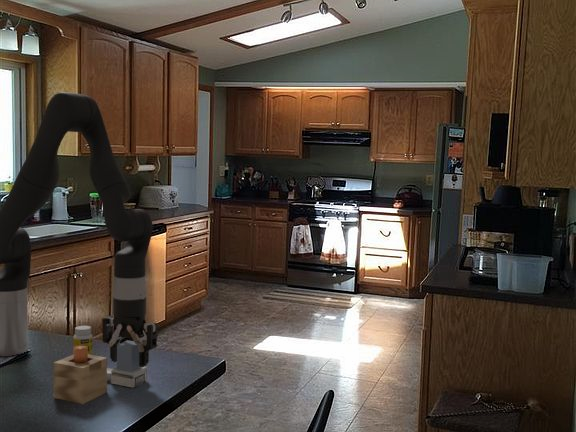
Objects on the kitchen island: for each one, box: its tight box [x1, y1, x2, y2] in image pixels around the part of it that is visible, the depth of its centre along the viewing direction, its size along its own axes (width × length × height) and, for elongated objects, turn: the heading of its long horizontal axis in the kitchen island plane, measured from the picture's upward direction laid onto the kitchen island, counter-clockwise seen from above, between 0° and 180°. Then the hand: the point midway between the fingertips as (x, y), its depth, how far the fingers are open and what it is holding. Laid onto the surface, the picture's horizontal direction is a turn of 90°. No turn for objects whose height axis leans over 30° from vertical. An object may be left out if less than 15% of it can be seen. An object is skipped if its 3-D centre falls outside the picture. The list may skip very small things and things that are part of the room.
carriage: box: [110, 340, 148, 388], centre depth 153 cm, size 6×6×9 cm
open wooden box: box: [53, 354, 108, 405], centre depth 145 cm, size 8×8×8 cm
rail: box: [107, 367, 145, 388], centre depth 156 cm, size 18×3×2 cm, turn 68°
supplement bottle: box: [72, 325, 93, 355], centre depth 170 cm, size 5×5×8 cm
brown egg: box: [74, 346, 88, 363], centre depth 145 cm, size 3×3×3 cm
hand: (129, 363), depth 154 cm, fingers open, 7 cm apart
